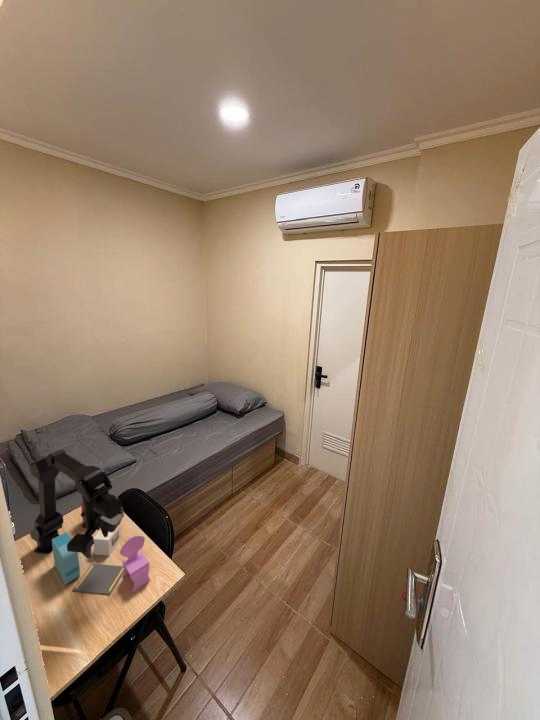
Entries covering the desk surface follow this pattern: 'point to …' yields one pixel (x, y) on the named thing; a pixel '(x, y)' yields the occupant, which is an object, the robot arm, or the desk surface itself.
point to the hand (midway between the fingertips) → (97, 546)
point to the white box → (106, 542)
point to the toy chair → (135, 561)
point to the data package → (65, 559)
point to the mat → (100, 579)
